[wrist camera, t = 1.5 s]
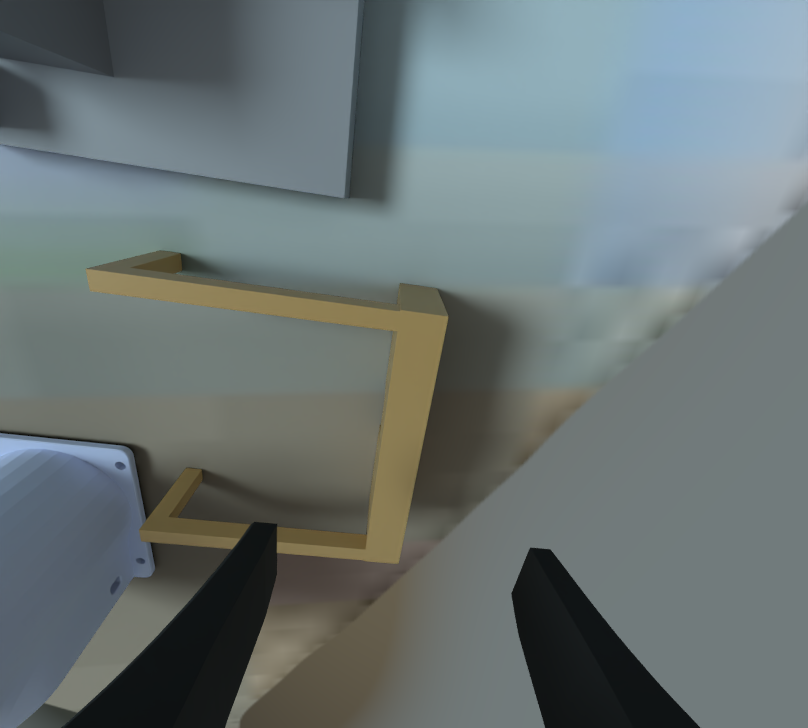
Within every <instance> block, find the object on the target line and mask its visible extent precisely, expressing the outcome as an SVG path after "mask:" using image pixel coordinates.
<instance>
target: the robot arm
mask: <svg viewBox="0 0 808 728" xmlns="http://www.w3.org/2000/svg"><path fill="white" fill-rule="evenodd" d="M121 462H122V463H121ZM123 463H124V464H123ZM145 521H146V517H145V512H144V507H143V501H142V496H141V491H140V486H139V480H138V475H137V470H136V465H135V459H134V454H133V452H132V451H131V450H130V449H129V448H128V447H125V446H120V445H111V444H101V443H91V442H81V441H72V440H62V439H52V438H43V437H33V436H23V435H14V434H4V433H0V728H16V727H17V726H18V725H20V724H21V723H22V722H23V721H25V720H26V719H27V718H28V717H29V716H31V715H32V714H33V713H34V712H35V711H36V710H37V709H38V708H39V707H40V706H41V705H42V704H43V703H44V702H45V701H46V700H47V699H48V698H49V697H50V696H51V695H52V694H53V692H54V691H55V690H56V689H57V688H58V686H59V685H60V684H61V682H62V681H63V679H64V678H65V676H66V675H67V674H68V672H69V671H70V669H71V668H72V666H73V665H74V663H75V662H76V660H77V659H78V657H79V656H80V655H81V653H82V652H83V650H84V649H85V647H86V646H87V644H88V643H89V641H90V640H91V638H92V637H93V636H94V634H95V633H96V631H97V630H98V628H99V627H100V625H101V624H102V622H103V621H104V620H105V618H106V617H107V615H108V614H109V612H110V611H111V609H112V608H113V606H114V605H115V603H116V602H117V601H118V599H119V598H120V596H121V595H122V593H123V592H124V590H125V589H126V587H127V586H128V584H129V583H130V582H131V580H132V579H133V577H143V578H145V577H150V576H151V575H152V574H153V572H154V570H155V565H154V559H153V554H152V549H151V544H150V542H142V541H141V538H140V533H139V529H140V528H141V526H142V525H143V524H144V523H145ZM276 575H277V524H271V523H260V522H254V523H252V524H251V525H250V526H249V527H248V529H247V530H246V532H245V533H244V535H243V536H242V537H241V539H240V540H239V541H238V543H237V544H236V545H235V547H234V548H233V549H232V550H231V552H230V553H229V554H228V556H227V557H226V558H225V559H224V561H223V562H222V563H221V564H220V566H219V567H218V568H217V569H216V571H215V572H214V573H213V574H212V575H211V576H210V578H209V579H208V580H207V581H206V582H205V583H204V585H203V586H202V587H201V588H200V589H199V591H198V592H197V593H196V594H195V595H194V596H193V598H192V599H191V600H190V601H189V602H188V603H187V604H186V605H185V607H184V608H183V609H182V610H181V611H180V612H179V613H178V614H177V615H176V616H175V617H174V619H173V620H172V621H171V622H170V623H169V624H168V625H167V626H166V627H165V628H164V629H163V630H162V632H161V633H160V634H159V635H158V636H157V637H156V638H155V639H154V640H153V641H152V642H151V643H150V644H149V645H148V646H147V647H146V648H145V649H144V650H143V651H142V652H141V653H140V654H139V655H138V656H137V657H136V658H135V659H134V660H133V661H132V662H131V663H130V664H129V665H128V666H127V667H126V668H125V669H124V670H123V671H122V672H121V673H120V674H119V675H118V676H117V677H116V678H115V679H114V680H113V681H112V682H111V683H110V684H109V685H108V686H107V687H106V688H104V689H103V690H102V691H101V692H100V693H99V694H98V695H97V696H96V697H95V698H94V699H92V700H91V701H90V702H89V703H88V704H87V705H86V706H85V707H84V708H83V709H82V710H81V711H79V712H78V713H77V714H76V715H75V716H74V717H73V718H72V719H71V720H70V721H69V722H67V723H66V724H65V725H64V726H63V727H62V728H225V726H226V723H227V720H228V717H229V714H230V711H231V709H232V706H233V703H234V701H235V698H236V695H237V693H238V690H239V687H240V684H241V682H242V679H243V676H244V674H245V671H246V668H247V665H248V663H249V660H250V657H251V655H252V652H253V649H254V646H255V644H256V641H257V638H258V636H259V633H260V630H261V627H262V625H263V622H264V619H265V616H266V613H267V609H268V605H269V602H270V598H271V594H272V591H273V587H274V583H275V579H276ZM512 600H513V606H514V612H515V618H516V623H517V628H518V633H519V638H520V641H521V645H522V649H523V652H524V655H525V659H526V662H527V666H528V669H529V673H530V677H531V680H532V684H533V687H534V690H535V694H536V697H537V701H538V704H539V708H540V711H541V715H542V717H543V721H544V725H545V728H700V727H699V726H698V725H697V724H696V723H695V722H694V721H693V720H692V718H691V717H690V716H689V715H688V714H687V713H686V712H685V711H684V710H683V709H682V708H681V707H680V706H679V705H678V704H677V703H676V702H675V701H674V700H673V698H672V697H671V696H670V695H669V694H668V693H667V692H666V691H665V690H664V689H663V688H662V687H661V686H660V684H659V683H658V682H657V681H656V680H655V679H654V678H653V677H652V675H651V674H650V673H649V672H648V671H647V670H646V668H645V667H644V666H643V665H642V664H641V663H640V662H639V660H638V659H637V658H636V657H635V656H634V655H633V653H632V652H631V651H630V650H629V649H628V648H627V646H626V645H625V644H624V643H623V642H622V640H621V639H620V638H619V637H618V636H617V634H616V633H615V632H614V631H613V630H612V629H611V627H610V626H609V625H608V623H607V622H606V621H605V619H604V618H603V617H602V616H601V614H600V613H599V612H598V611H597V609H596V608H595V607H594V606H593V604H592V603H591V602H590V601H589V599H588V598H587V597H586V595H585V594H584V593H583V591H582V590H581V589H580V587H579V586H578V585H577V584H576V582H575V581H574V580H573V578H572V577H571V576H570V575H569V573H568V572H567V570H566V569H565V568H564V566H563V565H562V564H561V563H560V561H559V560H558V559H557V557H556V556H555V555H554V553H553V552H552V551H551V550H550V549H539V548H530V550H529V552H528V554H527V556H526V559H525V561H524V564H523V566H522V569H521V572H520V574H519V576H518V579H517V581H516V584H515V586H514V589H513V591H512Z"/></svg>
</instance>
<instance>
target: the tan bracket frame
mask: <svg viewBox="0 0 808 728" xmlns="http://www.w3.org/2000/svg"><path fill="white" fill-rule="evenodd" d="M180 271H182V262H181V253H175V252H168V251H161V250H160V251H156V252H152V253H148V254H144V255H140V256H135V257H131V258H127V259H123V260H119V261H115V262H111V263H107V264H103V265H99V266H95V267H91V268H87V269H86V273H87V278H88V283H89V288H90V291H94V292H101V293H109V294H116V295H124V296H132V297H139V298H147V299H154V300H162V301H170V302H177V303H185V304H192V305H200V306H207V307H215V308H223V309H230V310H238V311H245V312H253V313H261V314H268V315H276V316H283V317H291V318H299V319H306V320H314V321H321V322H329V323H336V324H344V325H352V326H359V327H367V328H374V329H382V330H390V331H393V335H392V342H391V349H390V356H389V363H388V371H387V378H386V388H385V400H384V407H383V414H382V421H381V425H380V427H379V434H378V441H377V449H376V456H375V463H374V470H373V477H372V484H371V491H370V499H369V510H368V521H367V532H366V535H362V534H351V533H340V532H329V531H318V530H307V529H296V528H284V527H277V553H284V554H295V555H307V556H319V557H331V558H343V559H354V560H364V561H369V562H381V563H393V564H399V559H400V554H401V549H402V544H403V539H404V534H405V529H406V524H407V519H408V515H409V510H410V505H411V500H412V495H413V490H414V485H415V480H416V475H417V470H418V465H419V460H420V455H421V450H422V445H423V441H424V436H425V431H426V426H427V421H428V416H429V411H430V406H431V401H432V396H433V391H434V386H435V381H436V376H437V371H438V367H439V362H440V357H441V352H442V347H443V342H444V337H445V332H446V327H447V322H448V317H449V316H448V314H447V312H446V309H445V307H444V304H443V302H442V299H441V297H440V295H439V292H438V290H437V288H431V287H424V286H417V285H409V284H402V283H400V286H399V293H398V300H397V304H390V303H383V302H376V301H368V300H361V299H354V298H346V297H339V296H332V295H325V294H317V293H310V292H303V291H295V290H288V289H281V288H274V287H266V286H259V285H252V284H244V283H237V282H230V281H223V280H215V279H208V278H201V277H193V276H186V275H179V274H174V273H177V272H180ZM202 480H203V476H202V469H193V468H186V469H185V470H184V471H183V473H182V474H181V475H180V477H179V478H178V479H177V481H176V482H175V483H174V485H173V486H172V487H171V488H170V490H169V491H168V492H167V494H166V495H165V496H164V498H163V499H162V500H161V502H160V503H159V504H158V505H157V507H156V508H155V509H154V511H153V512H152V513H151V515H150V516H149V517H148V519H147V520H146V521H145V523H144V524H143V525H142V526H141V528H140V529H139V533H140V538H141V541H142V542H154V543H165V544H177V545H189V546H201V547H213V548H224V549H233V548H234V547H235V545H236V544H237V543H238V541H239V540H240V539H241V537H242V536H243V535H244V533H245V532H246V530H247V529H248V527H249V526H250V525H251V524H240V523H229V522H218V521H207V520H195V519H184V518H177V517H178V516H179V514H180V513H181V511H182V510H183V508H184V507H185V505H186V504H187V502H188V501H189V499H190V498H191V497H192V495H193V494H194V492H195V491H196V489H197V488H198V486H199V485H200V483H201V482H202Z"/></svg>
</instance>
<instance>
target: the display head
mask: <svg viewBox="0 0 808 728" xmlns="http://www.w3.org/2000/svg"><path fill="white" fill-rule="evenodd" d="M364 1H365V0H0V144H2V145H8V146H15V147H21V148H28V149H34V150H40V151H47V152H53V153H59V154H66V155H72V156H78V157H85V158H91V159H98V160H104V161H110V162H117V163H123V164H129V165H136V166H142V167H148V168H155V169H161V170H168V171H174V172H180V173H187V174H193V175H199V176H206V177H212V178H218V179H225V180H231V181H238V182H244V183H250V184H257V185H263V186H269V187H276V188H282V189H288V190H295V191H301V192H307V193H314V194H320V195H327V196H333V197H339V198H349V194H350V181H351V168H352V155H353V142H354V130H355V117H356V104H357V91H358V78H359V65H360V52H361V39H362V27H363V14H364Z"/></svg>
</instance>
